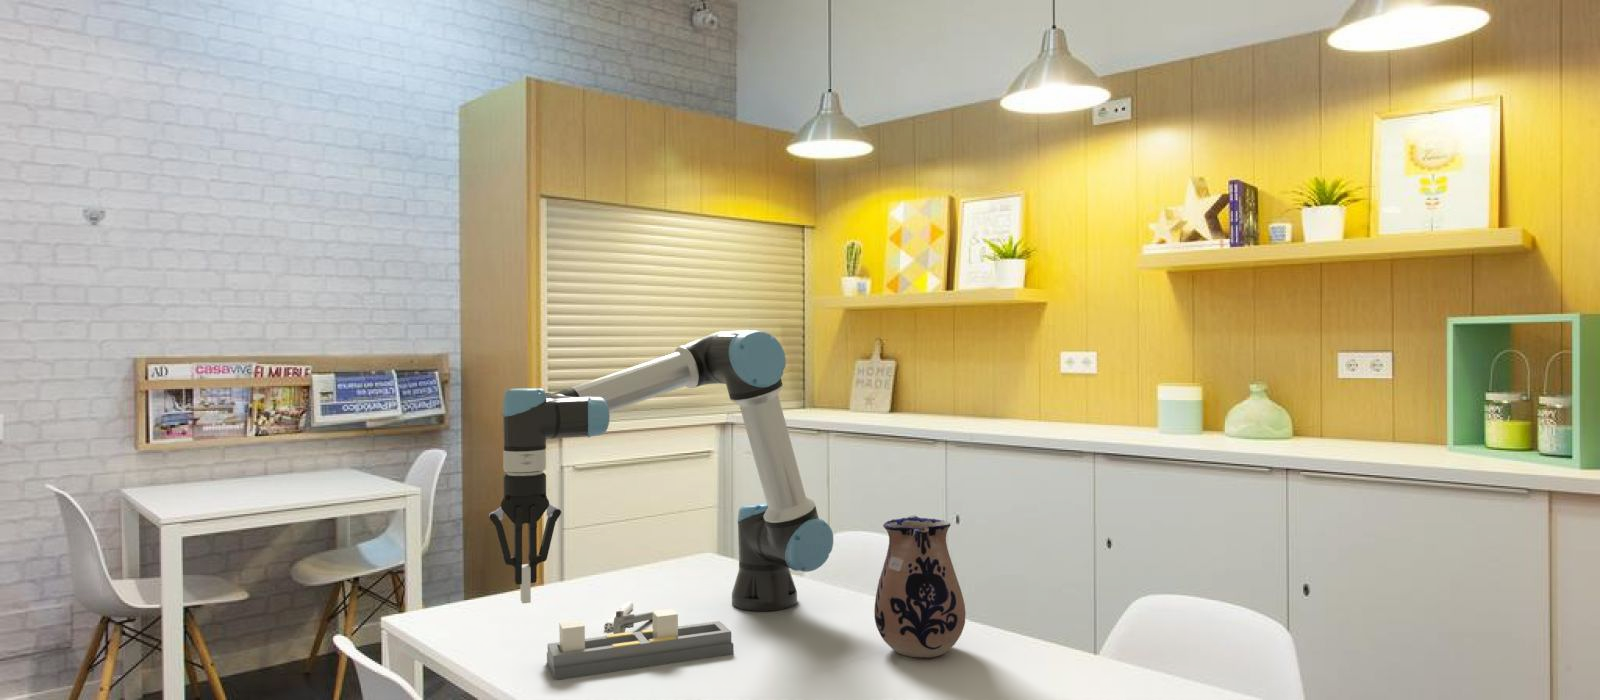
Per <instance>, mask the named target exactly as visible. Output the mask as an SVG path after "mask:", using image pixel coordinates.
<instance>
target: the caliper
mask: <svg viewBox="0 0 1600 700" xmlns="http://www.w3.org/2000/svg"><path fill="white" fill-rule="evenodd" d="M615 613H616V617H614V625H613V630H612V634H617V633H625V632H626V629H630V628H634V625H635V624H637V623H641V622H646V621H651V620H653V618H652V611H649V612H643V613H638V614H632V613H628V614H627V615H623V613H624V611H618V610H617V611H615Z"/></svg>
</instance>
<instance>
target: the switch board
mask: <svg viewBox="0 0 1600 700" xmlns="http://www.w3.org/2000/svg"><path fill="white" fill-rule="evenodd" d="M734 649H735V648H734V643H733V642H732V631H731V630H730V629H729V628H728V627H727V626H726V625H725V624H724V623H722V621H720V620H717V621H709V622H708V621H707V622H703V623H695V624H693V623H692V624H687V625H686V624H685V625H680V626H679V625H678V636H677V637H675V636H669V637H662V638H655V639H653V628H650V629H641V631H635V632H632V631H627V632H626V631H625V633H617V634H613V633H612V634H611V633H610V634H605V635H603V636H596V637H588V638H585V649H582V650H574V651H567V652H560V641H558V642H552V643H551V642H549V643H547V652H546V664H547V667H548V669H549V670H550V673H551V675H552V677H553V680H554V679H555V680H554V681H557V680H564V679H571V678H577V677H579V678H580V677H585V676H591V675H599V674H605V673H612V672H619V671H624V670H633V669H638V668H644V667H645V668H646V667H647V668H648V667H654V666H659V664H661V665H667V663H668V664H672V663H680V662H688V661H694V660H700V659H706V658H707V659H708V658H714V657H722V656H729V655H734Z"/></svg>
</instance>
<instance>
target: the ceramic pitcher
mask: <svg viewBox="0 0 1600 700" xmlns="http://www.w3.org/2000/svg"><path fill="white" fill-rule="evenodd" d="M882 526H883V528H884V529H885V530H886V531H887V534H888V538H889V539H888V547H887V551H886V555H885V560H884V563H883V567H882V570H881V572H880V576H879V580H878V584H877V588H876V593H875V601H874V623H875V625H876V629H877V631H878V633H879V635H880V637H881V638H882V639H883V641H884V642H885V643H886V645H888V646H889V647H890V648H891V650H894V652H896V653H898V654H900V655H903V656H906V657H912V658H936V657H939V656H941V655H944V654H946V653H947V652H948V651H949V650H951V649H952V648H953V647H954V646H955V645H956V643H957V642H958V640H959V639H960V637H961V635H962V632H963V630H964V629H965V628H964V627H965V624H966V604H965V600H964V597H963V592H962V590H961V586H960V584H959V581H958V578H957V574H956V572H955V569H954V566H953V565H954V564H953V562H952V559H951V556H950V553H949V552H950V551H949V549H948V544H947V533H948V532H949V531H948V530H949V528H950V527H951V522H948V521H946V520H944V519H935V518H928V517H918V516H917V515H916V514H915V515H910V516H907V517H902V518H896V519H894V518H893V519H891V520H887V521H886V522H885V523H884V524H882Z"/></svg>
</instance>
